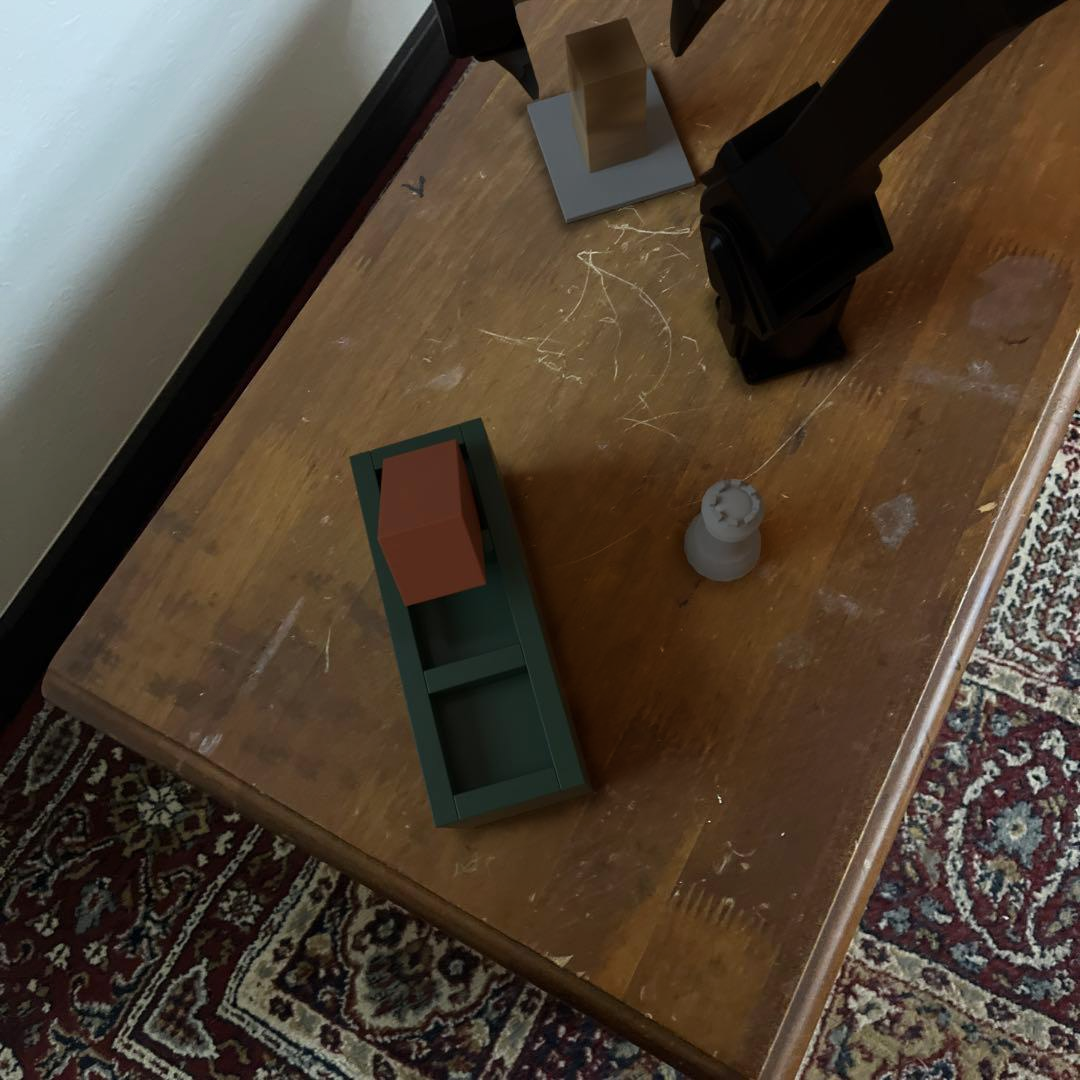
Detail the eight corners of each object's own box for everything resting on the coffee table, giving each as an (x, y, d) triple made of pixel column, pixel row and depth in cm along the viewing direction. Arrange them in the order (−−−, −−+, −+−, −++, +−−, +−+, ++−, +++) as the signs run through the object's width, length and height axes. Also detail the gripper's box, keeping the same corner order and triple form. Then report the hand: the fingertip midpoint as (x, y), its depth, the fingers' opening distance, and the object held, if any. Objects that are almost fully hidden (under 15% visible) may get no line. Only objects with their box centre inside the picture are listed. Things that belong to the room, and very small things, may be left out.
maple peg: (628, 111, 66) (627, 16, 58) (646, 156, 64) (647, 65, 57) (572, 128, 66) (564, 34, 58) (589, 173, 65) (582, 84, 57)
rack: (502, 474, 59) (480, 416, 51) (593, 792, 53) (585, 783, 45) (387, 508, 59) (348, 456, 51) (465, 829, 53) (434, 828, 45)
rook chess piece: (768, 523, 57) (789, 474, 49) (748, 593, 55) (766, 554, 48) (695, 502, 57) (704, 451, 50) (673, 571, 56) (679, 529, 49)
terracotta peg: (456, 438, 50) (462, 514, 43) (478, 502, 52) (487, 584, 45) (382, 458, 50) (376, 538, 43) (407, 522, 52) (405, 607, 45)
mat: (649, 72, 67) (650, 67, 67) (695, 185, 64) (695, 180, 64) (527, 109, 67) (526, 104, 67) (566, 224, 64) (566, 219, 64)
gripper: (729, -347, 47) (707, -63, 62) (367, -237, 47) (431, 20, 62) (809, -195, 44) (765, 67, 58) (418, -78, 44) (473, 154, 59)
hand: (604, 73), depth 59 cm, fingers open, 9 cm apart
